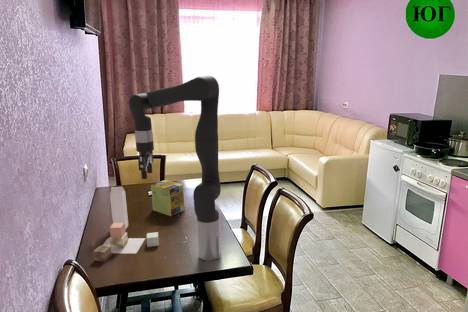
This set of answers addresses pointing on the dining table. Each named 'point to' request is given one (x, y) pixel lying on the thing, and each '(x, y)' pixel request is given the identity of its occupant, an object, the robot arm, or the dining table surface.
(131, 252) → the mat
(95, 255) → the walnut block
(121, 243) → the birch block
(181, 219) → the dining table surface
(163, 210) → the protein box
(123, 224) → the terracotta block
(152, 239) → the sage block
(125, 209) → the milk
